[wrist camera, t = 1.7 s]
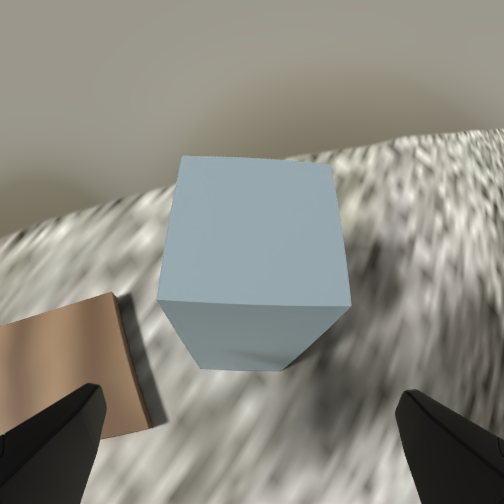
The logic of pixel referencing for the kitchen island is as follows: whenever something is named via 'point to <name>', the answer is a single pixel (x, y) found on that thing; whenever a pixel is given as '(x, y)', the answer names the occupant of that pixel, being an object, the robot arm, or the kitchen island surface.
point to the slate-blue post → (253, 260)
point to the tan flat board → (70, 364)
